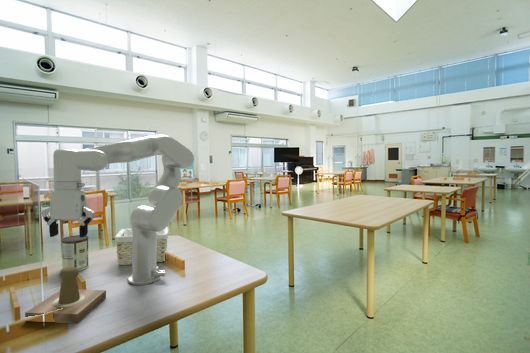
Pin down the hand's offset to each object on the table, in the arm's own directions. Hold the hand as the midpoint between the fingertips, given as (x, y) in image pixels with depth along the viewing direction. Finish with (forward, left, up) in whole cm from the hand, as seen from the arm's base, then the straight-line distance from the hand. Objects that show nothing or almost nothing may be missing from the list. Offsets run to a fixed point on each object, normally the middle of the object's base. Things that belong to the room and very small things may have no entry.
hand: (68, 236), depth 95 cm
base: (-1, +2, -25) cm, 25 cm away
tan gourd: (-1, +2, -22) cm, 22 cm away
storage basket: (-6, -47, -25) cm, 53 cm away
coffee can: (+20, -33, -25) cm, 46 cm away
